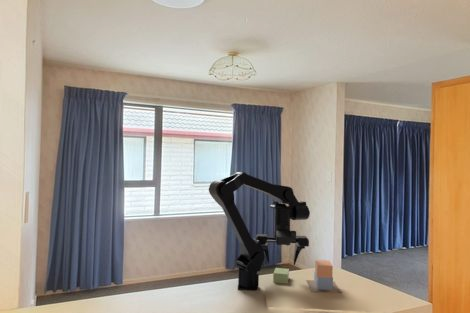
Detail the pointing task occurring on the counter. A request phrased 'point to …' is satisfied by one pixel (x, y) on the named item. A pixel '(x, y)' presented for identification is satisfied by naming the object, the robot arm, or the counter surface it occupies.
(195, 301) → the counter surface
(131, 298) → the counter surface
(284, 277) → the olive brick
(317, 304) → the counter surface
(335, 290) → the walnut board
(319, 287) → the base brick
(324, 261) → the terracotta brick
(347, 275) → the counter surface
